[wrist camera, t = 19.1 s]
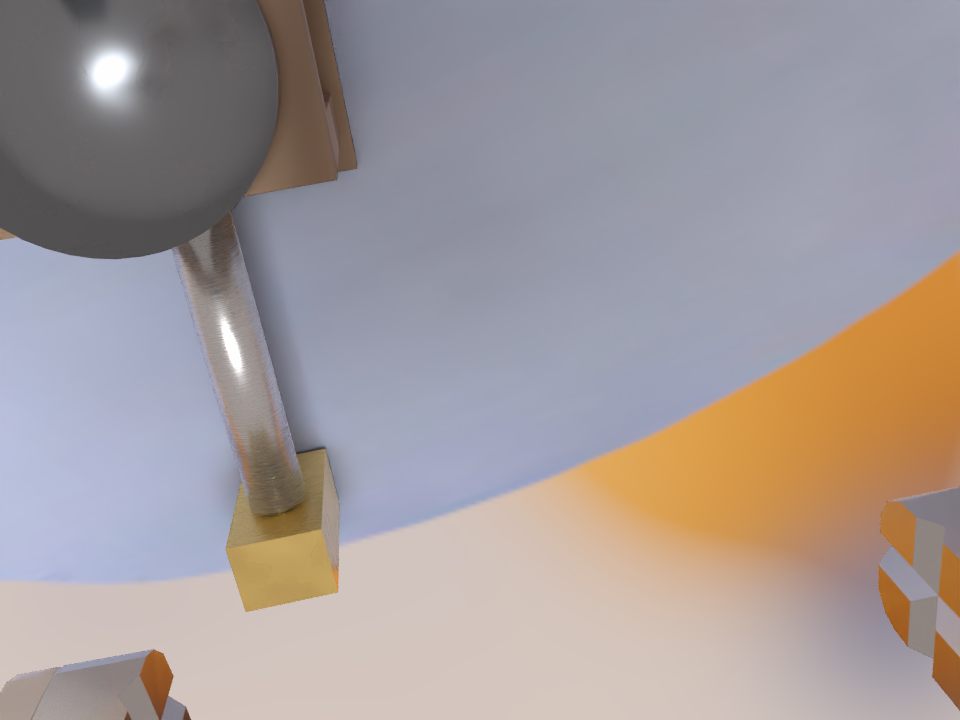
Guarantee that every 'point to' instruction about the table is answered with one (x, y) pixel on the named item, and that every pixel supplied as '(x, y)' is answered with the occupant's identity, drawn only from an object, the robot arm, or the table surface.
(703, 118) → the table surface
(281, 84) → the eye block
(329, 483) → the gold cube on rod
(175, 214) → the handwheel
